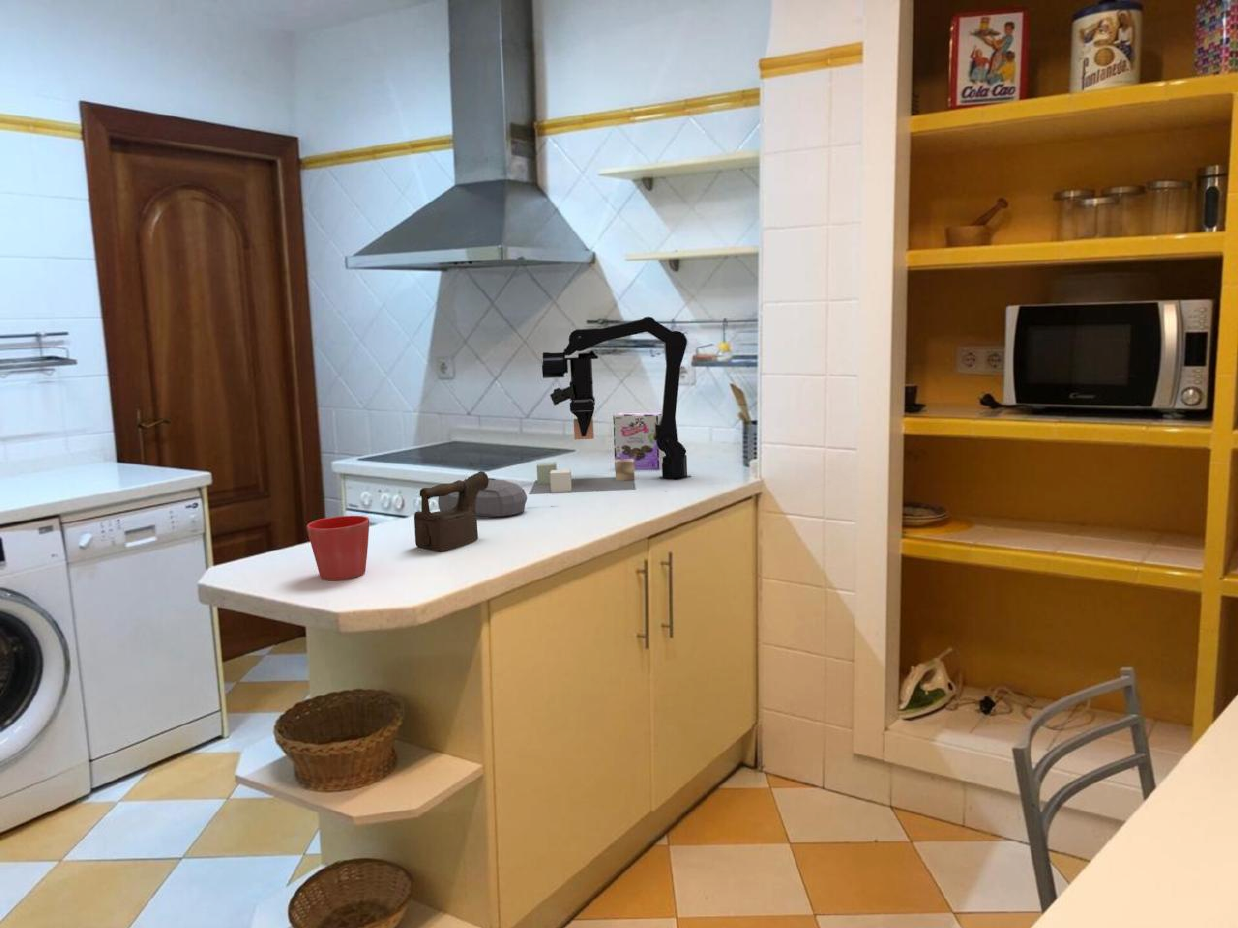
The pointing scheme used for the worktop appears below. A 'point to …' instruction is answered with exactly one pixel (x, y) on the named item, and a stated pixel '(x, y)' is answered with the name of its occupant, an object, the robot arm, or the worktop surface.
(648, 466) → the candy box
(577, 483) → the slate mat
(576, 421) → the terracotta block
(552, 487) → the taupe block
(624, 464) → the beech block
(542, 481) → the sage block
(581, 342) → the robot arm
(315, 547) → the flower pot
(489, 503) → the soft grey pack
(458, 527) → the clothes iron
